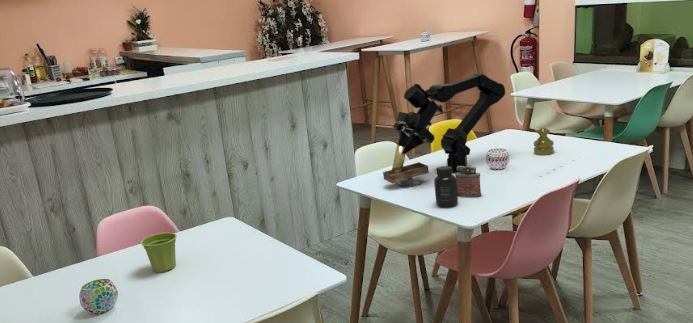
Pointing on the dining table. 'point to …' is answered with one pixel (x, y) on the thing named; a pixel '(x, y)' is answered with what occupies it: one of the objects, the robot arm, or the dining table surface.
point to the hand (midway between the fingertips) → (400, 152)
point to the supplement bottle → (445, 187)
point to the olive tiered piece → (543, 143)
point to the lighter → (468, 182)
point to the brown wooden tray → (406, 172)
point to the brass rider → (398, 160)
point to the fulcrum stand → (407, 183)
